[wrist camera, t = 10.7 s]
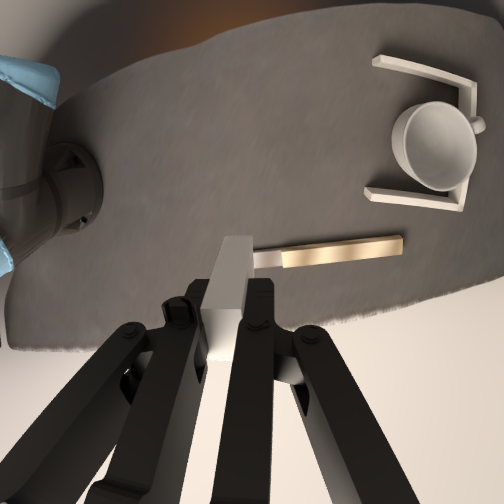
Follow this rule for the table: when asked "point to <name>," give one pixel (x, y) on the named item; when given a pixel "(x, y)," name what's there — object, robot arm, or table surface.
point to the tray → (464, 105)
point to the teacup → (436, 144)
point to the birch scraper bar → (329, 252)
